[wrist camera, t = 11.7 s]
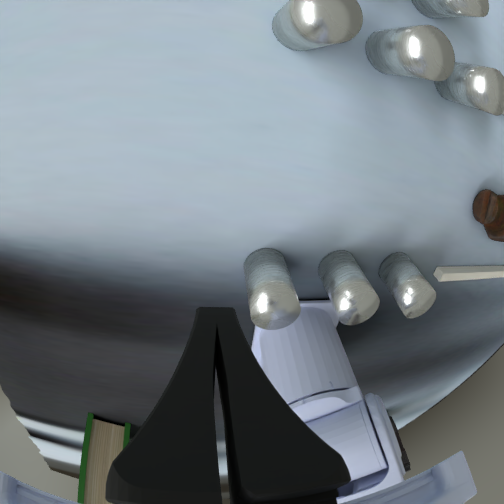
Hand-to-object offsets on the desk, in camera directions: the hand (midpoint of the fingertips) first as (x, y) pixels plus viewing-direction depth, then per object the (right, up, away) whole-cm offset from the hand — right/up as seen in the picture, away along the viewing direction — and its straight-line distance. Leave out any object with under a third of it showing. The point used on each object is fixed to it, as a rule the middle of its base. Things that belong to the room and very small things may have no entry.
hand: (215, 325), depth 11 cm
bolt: (+29, +7, +12) cm, 32 cm away
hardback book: (-25, -31, +30) cm, 50 cm away
